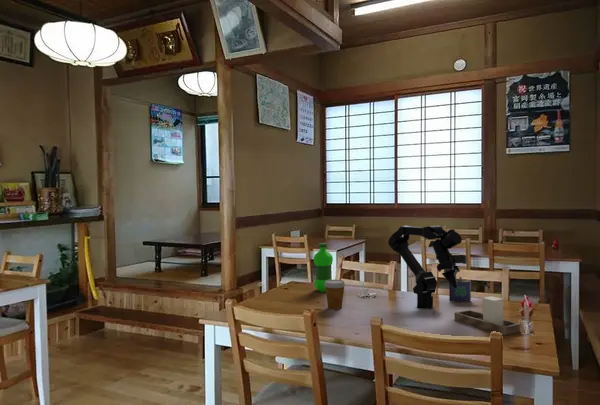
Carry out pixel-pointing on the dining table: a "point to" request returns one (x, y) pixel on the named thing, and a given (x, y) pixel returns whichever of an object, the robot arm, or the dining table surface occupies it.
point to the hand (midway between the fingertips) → (456, 288)
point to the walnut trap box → (477, 321)
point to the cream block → (493, 310)
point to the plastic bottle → (322, 267)
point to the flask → (460, 291)
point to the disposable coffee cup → (334, 293)
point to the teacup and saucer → (366, 291)
